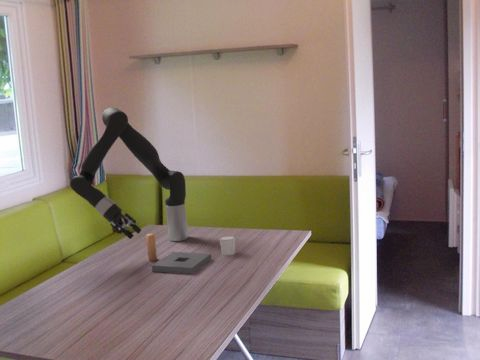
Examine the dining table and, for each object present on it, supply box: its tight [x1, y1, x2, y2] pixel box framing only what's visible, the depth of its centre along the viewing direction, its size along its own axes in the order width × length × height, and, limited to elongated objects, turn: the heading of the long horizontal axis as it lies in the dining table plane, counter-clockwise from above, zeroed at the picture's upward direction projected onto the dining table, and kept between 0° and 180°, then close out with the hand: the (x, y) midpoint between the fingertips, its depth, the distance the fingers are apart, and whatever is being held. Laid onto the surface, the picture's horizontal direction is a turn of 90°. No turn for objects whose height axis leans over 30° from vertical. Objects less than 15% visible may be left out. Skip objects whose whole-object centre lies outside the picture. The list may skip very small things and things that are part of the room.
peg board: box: [151, 251, 212, 275], centre depth 231 cm, size 18×18×2 cm
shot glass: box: [219, 235, 236, 257], centre depth 242 cm, size 7×7×7 cm
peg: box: [145, 233, 158, 262], centre depth 241 cm, size 4×4×11 cm
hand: (136, 234), depth 242 cm, fingers open, 8 cm apart
